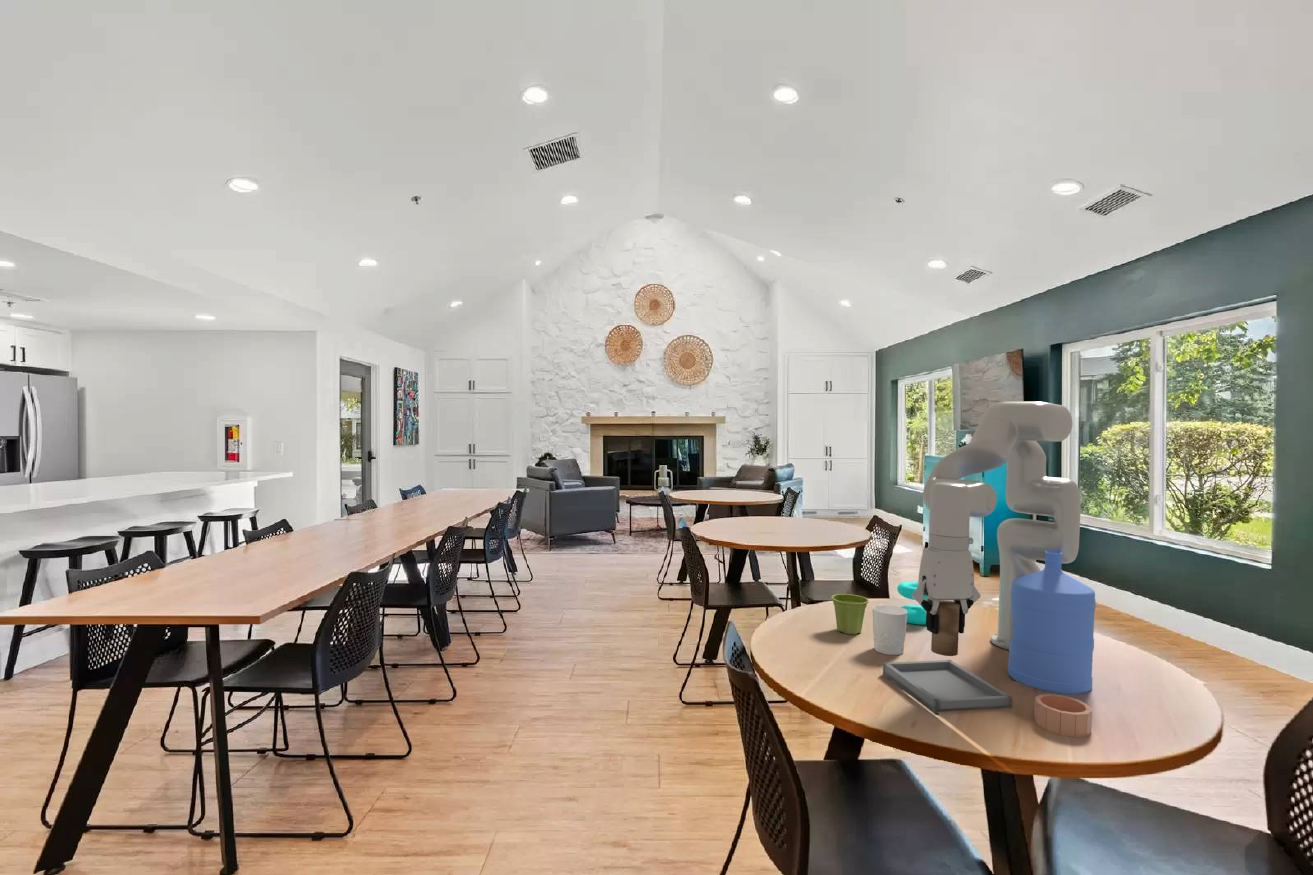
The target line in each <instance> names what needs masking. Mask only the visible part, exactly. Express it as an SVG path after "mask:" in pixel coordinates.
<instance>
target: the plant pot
mask: <svg viewBox="0 0 1313 875" xmlns="http://www.w3.org/2000/svg"><path fill="white" fill-rule="evenodd" d="M830 598H831V600H832V603H833V606H834V613H835V619H836V620H835V621H836V622H835V623H836V630H837V631H838V632H842V633H843V634H846V635H858V634H860V633H862V631H863V630H862V628H863V623H864V619H865V618H864V617H865V612H866V608H867V606H868V603H869V601H870V600H869V598H868V597H864V596H862V595H857V594H849V593H838V594H833V595H831V597H830Z"/></svg>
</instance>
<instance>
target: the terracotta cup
mask: <svg viewBox="0 0 1313 875" xmlns="http://www.w3.org/2000/svg"><path fill="white" fill-rule="evenodd" d="M1033 716H1034V717H1033V720H1034V722H1035V724H1036V725H1038V726H1039V727H1041V728H1043V729H1045V731H1048V732H1051V733H1055V734H1057V735H1060V736H1061V735H1062V736H1067V737H1072V738H1073V737H1074V738H1077V737H1078V738H1079V737H1088V736H1089V735H1090V734H1092V725H1093V724H1092V721H1093V710H1092V708H1091V706H1090V705H1089V704H1087V703H1085V702H1083V701H1081V700H1080V699H1076V698H1073V697H1070V696H1067V695H1062V694H1054V693H1044V694H1043V693H1042V694H1041V693H1040V694H1038V695H1037V696H1035V697H1034V713H1033Z"/></svg>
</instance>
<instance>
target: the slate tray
mask: <svg viewBox="0 0 1313 875" xmlns="http://www.w3.org/2000/svg"><path fill="white" fill-rule="evenodd" d="M882 675H883V676H885V677H886V678H887V679H889V680H890V681H891V682H892V683H893V684H895V685H896V686H898V687H899V688H900V689H902V690H903V691H904V692H906V693H907V694H908V695H910V697H912V698H913V699H915V701H917V702H918V703H920V704H921V705H922V706H924V707H925V708H926V709H928V710H929V711H930V712H932V714H934V715H939V713H938V712H952V711H953V712H954V711H955V712H957V711H975V710H990V709H991V710H992V709H1007V708H1008V709H1011V708H1013V697H1012V696H1010V695H1009V694H1008V693H1006V692H1004V691H1002V690H1001V689H999V688H998V687H995V686H994V685H992V684H991V683H989V682H988V681H985V679H983V678H982V677H979V676H977V675H976V674H974V673H972V672H971V671H969V670H967V669H966V668H965V667H962V666H961V665H959V664H958V663H956V662H954V661H953V660H951V659H944V660H943V659H941V660H917V661H916V660H915V661H899V662H898V661H896V662H893V661H892V662H883V663H882Z"/></svg>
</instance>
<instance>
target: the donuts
mask: <svg viewBox="0 0 1313 875" xmlns="http://www.w3.org/2000/svg"><path fill="white" fill-rule="evenodd" d="M917 587H918V581H903V582H901V583H899V584H898V585H897V587H896V590H897V592H898V594H899V596H902V597H903V598H905V599H909V600H914V601H916V600H915V599H914V598H912V594H913V593H914V591H915V590H916V589H917ZM923 598H924V599H925V600H926V598H927V595H923ZM900 607H901V608H904V609H906V610H907V624H910V625H918V626H919V625H920V626H926V611H925V610H924V608H923V607H922V606H921V605H914V604H907V605H906V604H905V605H902V606H900Z"/></svg>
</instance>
